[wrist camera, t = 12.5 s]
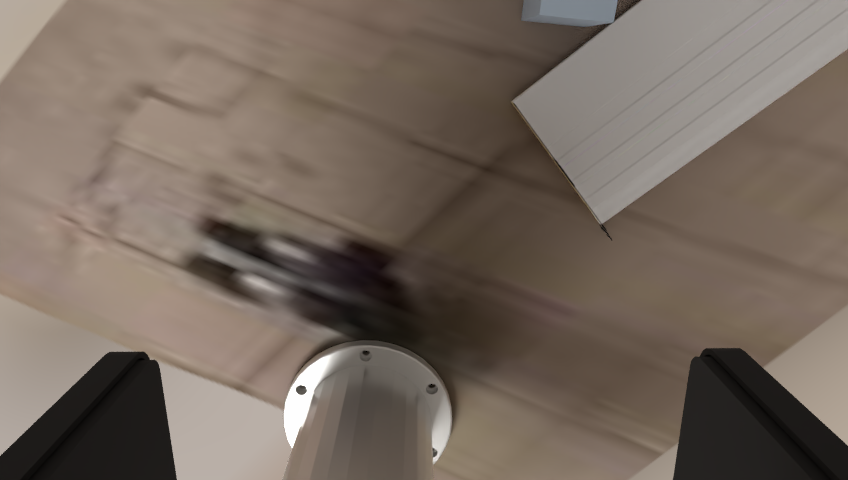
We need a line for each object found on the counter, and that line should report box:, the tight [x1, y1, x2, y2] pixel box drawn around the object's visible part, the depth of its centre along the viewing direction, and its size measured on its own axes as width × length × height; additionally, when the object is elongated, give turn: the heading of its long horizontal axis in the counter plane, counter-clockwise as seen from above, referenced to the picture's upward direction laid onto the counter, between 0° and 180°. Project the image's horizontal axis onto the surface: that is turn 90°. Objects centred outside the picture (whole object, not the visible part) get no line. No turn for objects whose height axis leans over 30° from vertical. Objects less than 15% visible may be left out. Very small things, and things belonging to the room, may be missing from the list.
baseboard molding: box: [511, 0, 848, 240], centre depth 36 cm, size 31×3×12 cm
